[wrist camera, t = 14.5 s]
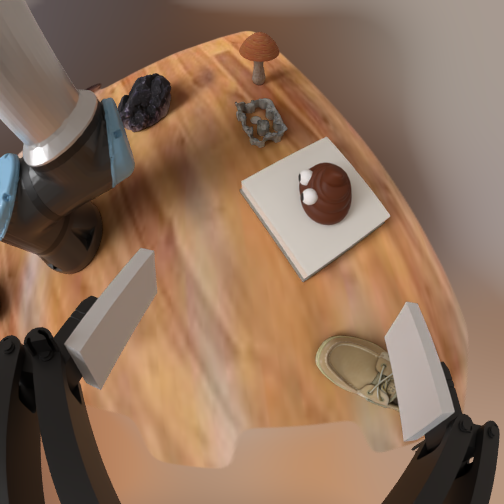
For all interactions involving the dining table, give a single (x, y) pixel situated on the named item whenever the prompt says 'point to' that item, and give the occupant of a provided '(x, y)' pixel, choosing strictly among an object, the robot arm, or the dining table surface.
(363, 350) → the boat shoe
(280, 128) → the stone castle ruin
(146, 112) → the crystal cluster
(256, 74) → the mushroom
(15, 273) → the dining table surface
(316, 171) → the poop emoji
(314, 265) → the podium
